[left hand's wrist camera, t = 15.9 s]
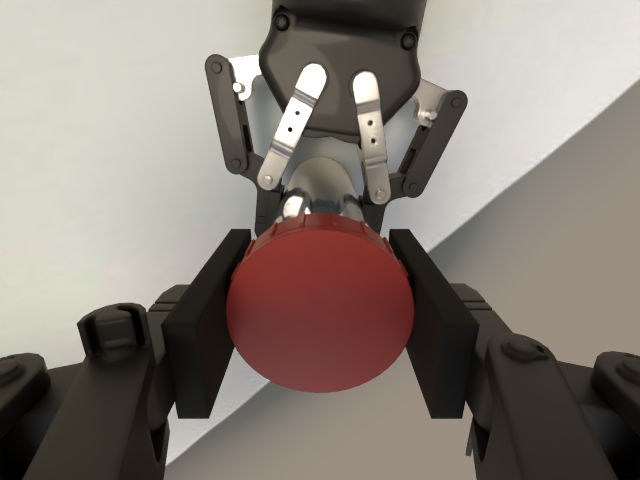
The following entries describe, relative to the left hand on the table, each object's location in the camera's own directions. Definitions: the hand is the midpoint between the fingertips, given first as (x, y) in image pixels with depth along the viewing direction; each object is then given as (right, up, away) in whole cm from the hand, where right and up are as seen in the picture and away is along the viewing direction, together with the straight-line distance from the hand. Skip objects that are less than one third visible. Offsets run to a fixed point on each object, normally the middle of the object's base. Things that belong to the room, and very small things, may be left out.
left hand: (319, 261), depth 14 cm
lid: (0, -1, -4) cm, 4 cm away
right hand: (0, 0, +8) cm, 8 cm away
